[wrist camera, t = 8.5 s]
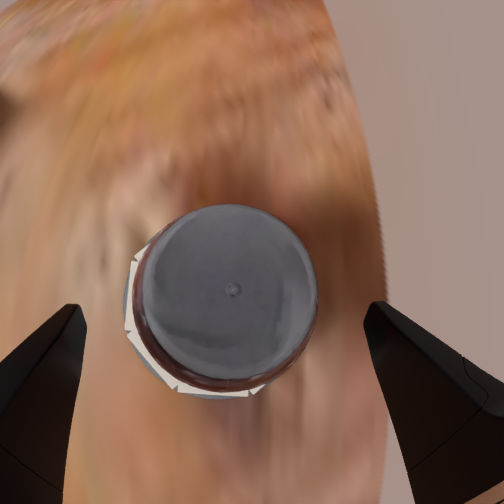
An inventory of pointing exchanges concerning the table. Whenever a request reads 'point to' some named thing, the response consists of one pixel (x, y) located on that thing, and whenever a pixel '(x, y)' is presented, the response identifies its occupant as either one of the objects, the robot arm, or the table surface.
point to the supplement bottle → (225, 298)
